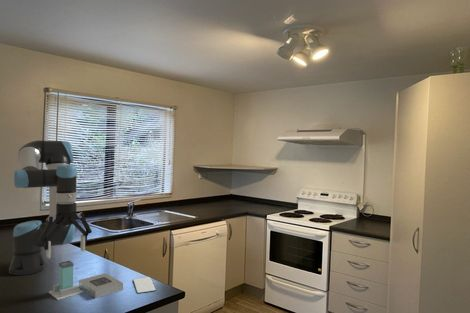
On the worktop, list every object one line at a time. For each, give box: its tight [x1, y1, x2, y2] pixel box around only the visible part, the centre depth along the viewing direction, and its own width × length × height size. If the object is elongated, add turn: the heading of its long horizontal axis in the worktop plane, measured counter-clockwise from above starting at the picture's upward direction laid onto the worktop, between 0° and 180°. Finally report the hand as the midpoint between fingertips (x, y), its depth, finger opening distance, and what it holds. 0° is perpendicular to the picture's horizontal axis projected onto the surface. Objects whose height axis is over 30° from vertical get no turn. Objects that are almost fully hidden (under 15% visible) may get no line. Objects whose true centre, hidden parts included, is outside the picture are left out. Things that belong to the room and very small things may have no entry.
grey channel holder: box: [48, 283, 84, 301], centre depth 142 cm, size 10×10×3 cm
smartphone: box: [132, 276, 157, 295], centre depth 151 cm, size 8×1×16 cm
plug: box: [58, 260, 74, 292], centre depth 142 cm, size 4×4×12 cm
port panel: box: [78, 273, 124, 299], centre depth 147 cm, size 16×12×3 cm
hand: (66, 254), depth 142 cm, fingers open, 13 cm apart
